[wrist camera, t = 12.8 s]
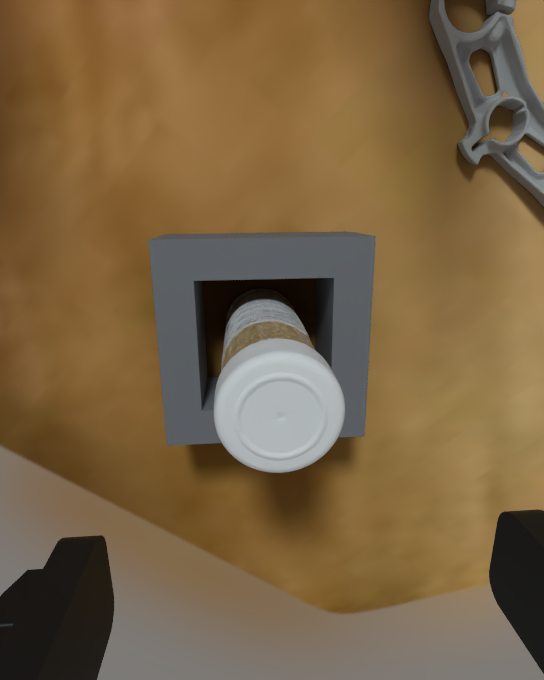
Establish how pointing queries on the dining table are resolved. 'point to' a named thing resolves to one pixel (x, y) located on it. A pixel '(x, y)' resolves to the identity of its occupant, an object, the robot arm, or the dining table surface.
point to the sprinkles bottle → (274, 388)
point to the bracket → (509, 77)
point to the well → (248, 264)
